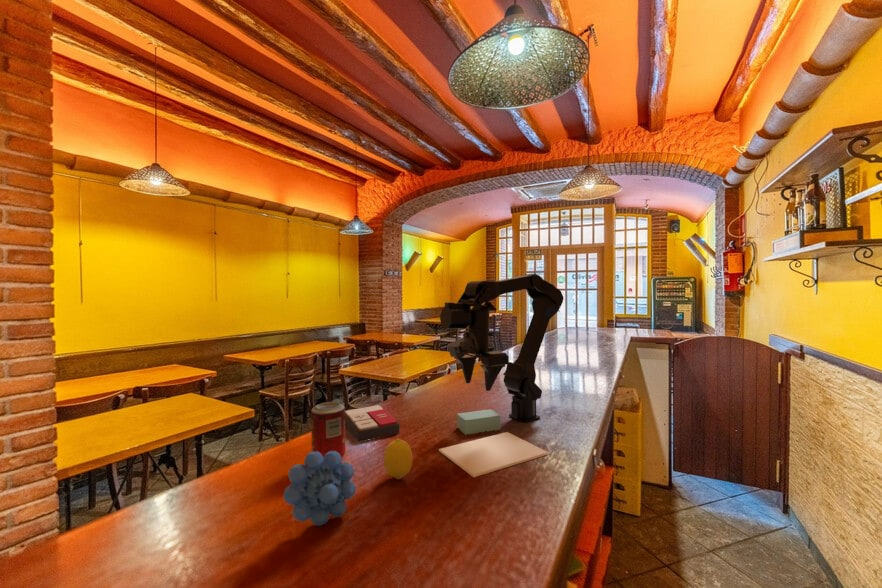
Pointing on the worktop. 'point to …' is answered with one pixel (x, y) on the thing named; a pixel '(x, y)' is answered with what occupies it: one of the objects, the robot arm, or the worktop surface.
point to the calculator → (370, 423)
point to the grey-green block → (478, 421)
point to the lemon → (398, 458)
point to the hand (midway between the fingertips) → (477, 386)
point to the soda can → (328, 428)
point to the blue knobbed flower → (320, 487)
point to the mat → (491, 453)
